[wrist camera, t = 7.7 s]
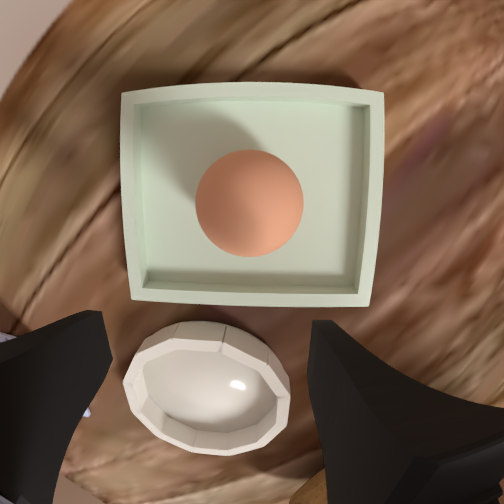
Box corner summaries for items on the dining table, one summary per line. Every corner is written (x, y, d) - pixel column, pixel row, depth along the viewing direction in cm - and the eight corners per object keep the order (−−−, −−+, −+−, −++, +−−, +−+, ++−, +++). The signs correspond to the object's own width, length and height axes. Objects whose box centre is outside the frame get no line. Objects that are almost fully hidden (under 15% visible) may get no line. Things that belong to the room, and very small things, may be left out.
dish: (150, 425, 23) (143, 444, 21) (124, 314, 20) (109, 331, 18) (281, 436, 23) (282, 457, 21) (293, 323, 20) (296, 343, 17)
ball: (205, 239, 18) (184, 268, 13) (207, 150, 16) (184, 145, 11) (294, 244, 17) (305, 275, 13) (299, 154, 16) (315, 150, 11)
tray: (143, 287, 19) (131, 299, 18) (135, 98, 16) (121, 92, 14) (359, 292, 19) (368, 306, 17) (371, 99, 16) (383, 92, 14)
